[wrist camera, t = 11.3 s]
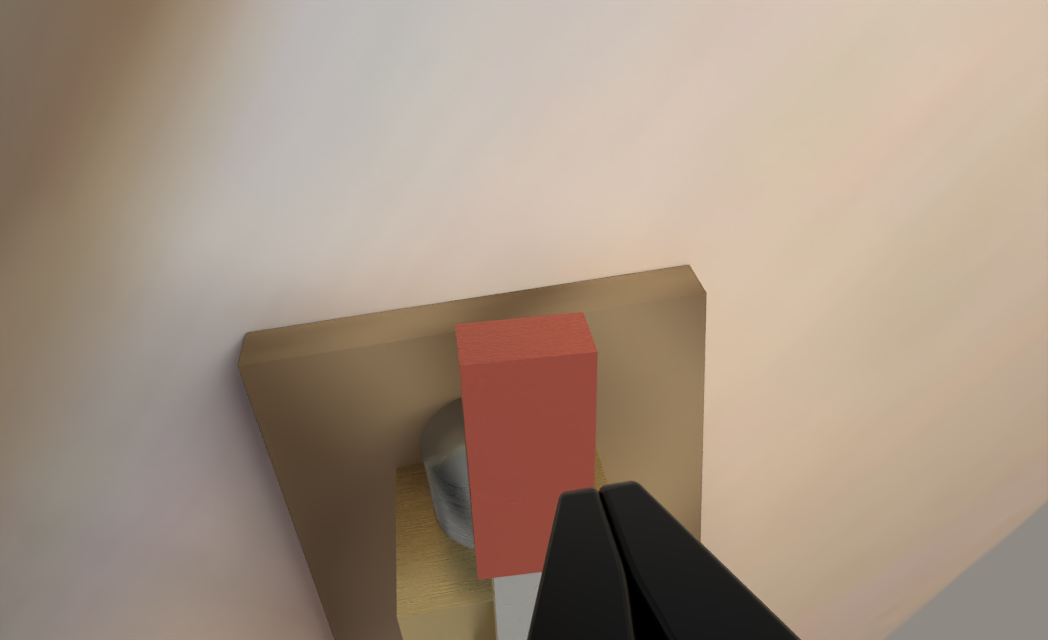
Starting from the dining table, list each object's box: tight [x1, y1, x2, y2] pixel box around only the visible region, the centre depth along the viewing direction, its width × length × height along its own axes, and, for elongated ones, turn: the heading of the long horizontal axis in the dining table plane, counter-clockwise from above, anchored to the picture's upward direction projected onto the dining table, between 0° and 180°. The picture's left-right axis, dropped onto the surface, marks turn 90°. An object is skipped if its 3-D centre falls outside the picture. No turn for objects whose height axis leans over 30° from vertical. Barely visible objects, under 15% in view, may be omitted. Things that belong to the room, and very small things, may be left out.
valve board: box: [238, 265, 706, 640], centre depth 26 cm, size 12×14×2 cm
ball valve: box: [396, 398, 608, 640], centre depth 23 cm, size 6×10×6 cm, turn 6°
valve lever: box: [455, 312, 598, 640], centre depth 17 cm, size 12×3×1 cm, turn 2°
